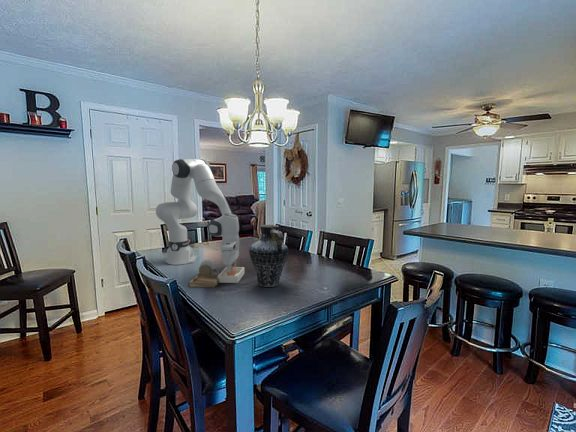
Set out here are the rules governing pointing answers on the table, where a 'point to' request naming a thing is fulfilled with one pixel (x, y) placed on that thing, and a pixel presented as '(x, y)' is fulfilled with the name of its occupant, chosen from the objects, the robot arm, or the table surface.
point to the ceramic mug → (207, 268)
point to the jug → (269, 256)
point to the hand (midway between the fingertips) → (231, 269)
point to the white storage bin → (231, 279)
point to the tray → (204, 281)
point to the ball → (232, 272)
